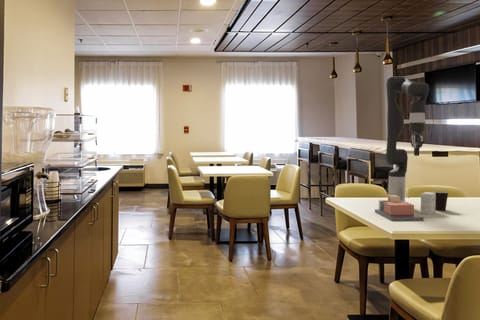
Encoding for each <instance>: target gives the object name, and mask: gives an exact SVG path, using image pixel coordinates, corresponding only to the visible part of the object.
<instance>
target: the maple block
mask: <svg viewBox="0 0 480 320" xmlns="http://www.w3.org/2000/svg"><path fill="white" fill-rule="evenodd" d="M387 200H388V202H400V196H397V195H388V194H387Z"/></svg>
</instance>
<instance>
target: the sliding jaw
mask: <svg viewBox="0 0 480 320" xmlns="http://www.w3.org/2000/svg"><path fill="white" fill-rule="evenodd" d="M384 212H385V213H387V214H389V215H414V213H415V204H413V203H410V202H407V201H405V202H384Z"/></svg>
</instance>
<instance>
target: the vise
mask: <svg viewBox="0 0 480 320" xmlns="http://www.w3.org/2000/svg"><path fill="white" fill-rule="evenodd" d="M384 202H388V199H379V200H378V208H375V209H374V213H375V214H378V215H380V216H382V218H385V219H387V220H389V221H390V222H391V221H392V222H394V221H396V222H401V221H404V222H407V221H410V222H411V221H418V222H419V221H420V222H421V221H424V220H425V219H424V217H423V216H422V215H419V214H417V213H415V212H414V215H389V214H387V213H385V212H384ZM400 202H402V200H400Z"/></svg>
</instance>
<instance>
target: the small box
mask: <svg viewBox="0 0 480 320" xmlns="http://www.w3.org/2000/svg"><path fill="white" fill-rule="evenodd" d="M435 204H436V193H431V192H429V191H425V192H422V193H420V213H421V214H427V215H432V214H434V213H436V210H435Z"/></svg>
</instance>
